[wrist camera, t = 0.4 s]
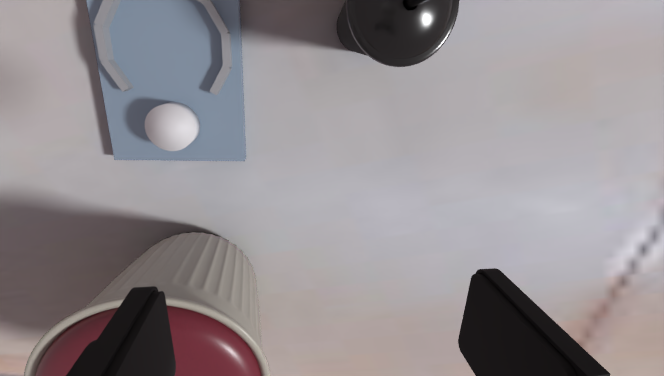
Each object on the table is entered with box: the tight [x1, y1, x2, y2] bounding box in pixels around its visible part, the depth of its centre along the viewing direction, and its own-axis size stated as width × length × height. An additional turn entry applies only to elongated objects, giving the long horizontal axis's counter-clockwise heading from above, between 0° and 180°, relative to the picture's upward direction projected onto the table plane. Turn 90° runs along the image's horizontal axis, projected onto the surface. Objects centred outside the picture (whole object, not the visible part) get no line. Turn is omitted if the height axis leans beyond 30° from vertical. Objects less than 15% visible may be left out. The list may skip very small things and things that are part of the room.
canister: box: [24, 232, 270, 376], centre depth 32 cm, size 18×18×21 cm
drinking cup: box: [337, 0, 459, 67], centre depth 25 cm, size 8×8×20 cm
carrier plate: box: [86, 0, 246, 161], centre depth 32 cm, size 18×13×4 cm
